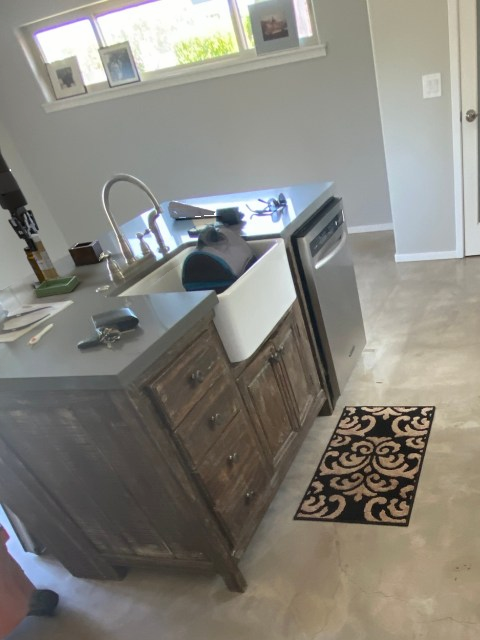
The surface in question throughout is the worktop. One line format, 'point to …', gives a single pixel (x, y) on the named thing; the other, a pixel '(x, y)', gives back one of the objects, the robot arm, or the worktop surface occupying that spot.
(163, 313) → the worktop surface
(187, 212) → the grey tapered wedge
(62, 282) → the tray
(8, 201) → the robot arm
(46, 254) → the sprinkles bottle
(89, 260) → the brown wooden box
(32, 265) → the condiment
